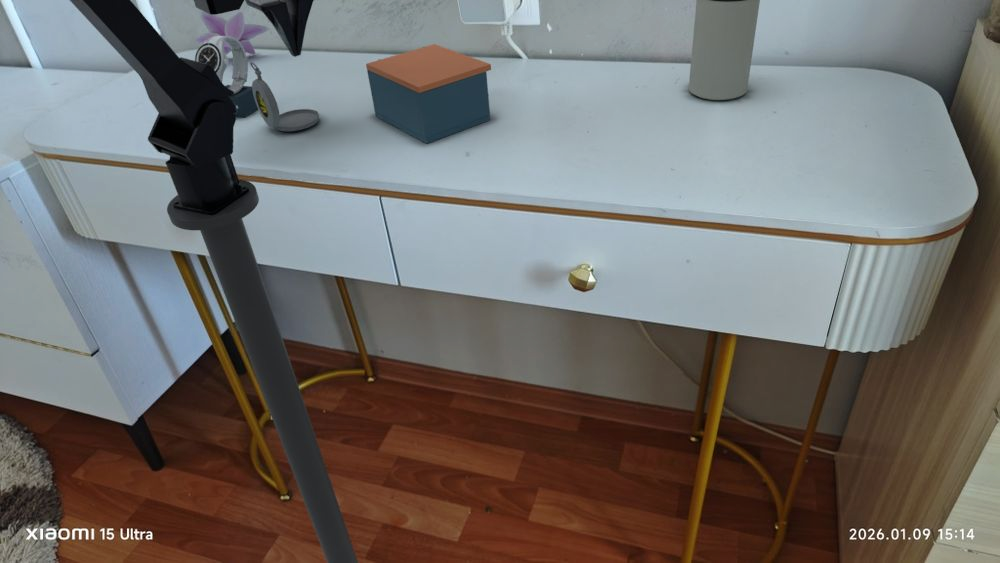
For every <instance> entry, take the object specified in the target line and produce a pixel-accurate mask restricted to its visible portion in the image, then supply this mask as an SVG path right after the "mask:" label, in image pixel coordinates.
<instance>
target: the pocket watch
mask: <svg viewBox="0 0 1000 563" xmlns="http://www.w3.org/2000/svg"><path fill="white" fill-rule="evenodd" d="M249 62H250V63H249V64H250V66H251V68H252V69H253V71H254V74H255V75H256V77H257V78H255V79H254V80H253V81H252V83H251V86H252V90H253V95H254V99H255V102H256V105H257V108H258V110H257V111H258V112H259V114H260V116H261V118H262V119H263V121H264V122H265V124H266V125H267V127H270V128H274V129H275V130H277V131H279V132H297V131H302V130H305V129H309V128H310V127H313V126H314V125H316V124H317V123H318V122H319V120H320V113H319V112H318V111H317V110H315V109H310V108H299V109H293V110H289V111H285V112H283V113H280V110H279V106H278V103H277V101H276V98H275V95H274V93H273V91H272V89H271V87H270V86H269V84H267V83H266V81H265V80H264V79H263V77H262V71H261V70H260V68H259V67H258V66H257V64H255V63H254V62H253V61H249Z"/></svg>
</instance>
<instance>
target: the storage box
mask: <svg viewBox="0 0 1000 563" xmlns="http://www.w3.org/2000/svg"><path fill="white" fill-rule="evenodd" d="M366 72H367V78H368V82H369V88H370V93H371V98H372V99H371V100H372V104H373V109H374V115H375V117H376V118H378V119H380V120H381V121H384V122H386V123H387V124H389V125H390V126H393V127H394V128H397V129H399V130H400V131H401V132H404V133H406V134H408V135H410V136H411V137H413V138H416V139H417V140H418V141H421V142H422V143H424V144H429V143H432V142H433V143H434V142H435V141H438V140H440V139H443V138H446V137H449V136H452V135H454V134H457V133H459V132H463V131H464V130H467V129H470V128H472V127H475V126H478V125H480V124H483V123H486V122H489V121H491V111H490V97H489V88H488V87H489V85H488V74H487V71H486V72H483V73H480V74H477V75H474V76H471V77H468V78H465V79H462V80H459V81H455V82H452V83H449V84H446V85H443V86H440V87H437V88H434V89H431V90H428V91H425V92H422V93H418V92H415V91H413V90H411V89H409V88H407V87H404V86H402V85H400V84H398V83H396V82H393V81H391V80H389V79H387V78H385V77H382V76H380V75H378V74H376V73H374V72H372V71H369V70H367V69H366Z"/></svg>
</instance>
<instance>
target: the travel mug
mask: <svg viewBox="0 0 1000 563" xmlns="http://www.w3.org/2000/svg"><path fill="white" fill-rule="evenodd" d="M695 1H696V3H695V13H694V24H693V35H692V37H693V38H692V44H691V45H692V47H691V58H690V67H689V68H690V70H689V81H688V91H689V92H690V93H691V94H692V95H694V96H696V97H698V98H700V99H703V100H709V101H726V100H727V101H729V100H734V99H737V98H739V97H741V96H744V95H745V94H746V93H747V92H748V86H749V81H750V72H751V66H752V59H753V58H752V57H753V51H754V44H755V39H756V32H757V31H756V30H757V23H758V16H759V10H760V3H761V2H760V1H761V0H695Z"/></svg>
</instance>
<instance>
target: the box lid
mask: <svg viewBox="0 0 1000 563" xmlns="http://www.w3.org/2000/svg"><path fill="white" fill-rule="evenodd" d="M365 65H366V66H365V67H366V71H367V70H369V71H372V72H374V73H376V74H378V75H380V76H382V77H385V78H387V79H389V80H391V81H393V82H396V83H398V84H400V85H402V86H404V87H407V88H409V89H411V90H413V91H415V92H418V93H422V92H425V91H428V90H431V89H434V88H437V87H440V86H443V85H446V84H449V83H452V82H455V81H459V80H462V79H465V78H468V77H471V76H474V75H477V74H480V73H483V72H486V73H487V72H489V71H491V70H492V64H491V63H488V62H486V61H482V60H480V59H477V58H474V57H472V56H469V55H467V54H463V53H462V52H458V51H456V50H453V49H450V48H447V47H444V46H441V45H438V44H436V43H433V44H430V45H427V46H426V45H425V46H422V47H419V48H416V49H413V50H409V51H406V52H401V53H399V54H395V55H392V56H388V57H385V58H382V59H377V60H375V61H371V62H367V63H366V64H365Z"/></svg>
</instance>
